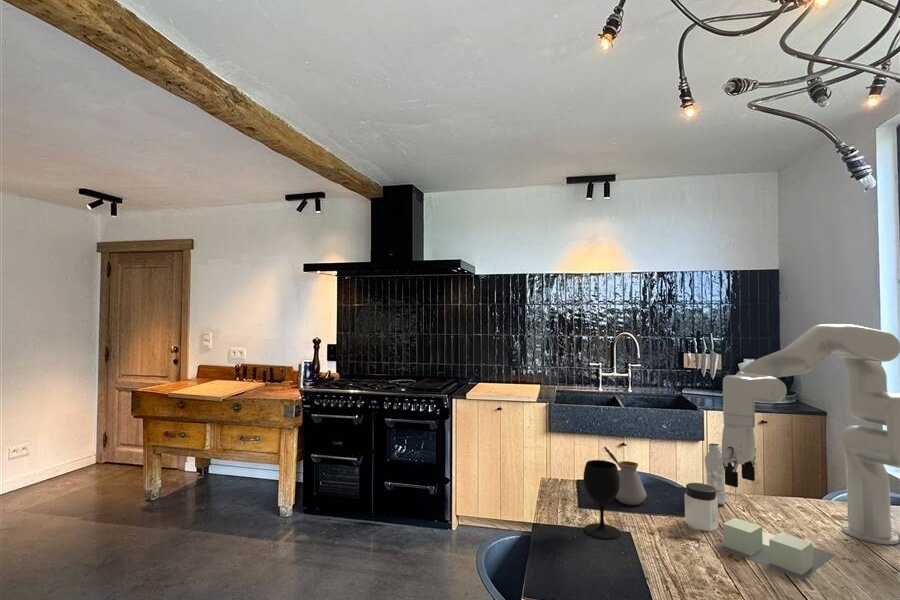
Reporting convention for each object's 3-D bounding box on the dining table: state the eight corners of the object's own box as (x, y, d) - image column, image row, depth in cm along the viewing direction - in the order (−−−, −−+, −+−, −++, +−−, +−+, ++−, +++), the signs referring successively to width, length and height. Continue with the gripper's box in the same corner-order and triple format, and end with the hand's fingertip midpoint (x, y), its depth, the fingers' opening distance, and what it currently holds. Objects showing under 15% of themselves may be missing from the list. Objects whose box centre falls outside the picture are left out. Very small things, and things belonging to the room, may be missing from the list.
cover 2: (781, 555, 125) (780, 532, 125) (813, 566, 119) (812, 542, 120) (770, 563, 121) (769, 539, 121) (802, 575, 115) (801, 550, 116)
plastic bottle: (702, 503, 163) (701, 444, 164) (708, 498, 167) (707, 441, 168) (723, 508, 158) (721, 448, 159) (729, 503, 163) (727, 444, 164)
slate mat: (750, 528, 143) (750, 526, 143) (836, 556, 125) (835, 554, 126) (713, 548, 130) (713, 545, 130) (802, 582, 113) (802, 579, 113)
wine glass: (621, 542, 134) (619, 471, 135) (583, 536, 137) (582, 467, 138) (620, 527, 144) (619, 460, 145) (585, 522, 147) (584, 457, 148)
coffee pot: (654, 505, 161) (653, 461, 162) (624, 508, 158) (623, 463, 159) (618, 484, 182) (617, 445, 182) (591, 487, 179) (590, 447, 180)
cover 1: (735, 539, 135) (734, 517, 135) (762, 548, 129) (762, 526, 129) (723, 545, 131) (722, 523, 131) (750, 555, 125) (750, 532, 125)
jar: (707, 535, 138) (706, 494, 139) (680, 525, 145) (679, 486, 145) (722, 528, 143) (721, 488, 144) (696, 518, 150) (695, 480, 150)
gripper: (739, 415, 139) (740, 473, 138) (709, 421, 130) (710, 484, 129) (767, 419, 133) (769, 481, 132) (738, 426, 123) (739, 492, 122)
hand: (740, 482), depth 130 cm, fingers open, 9 cm apart
